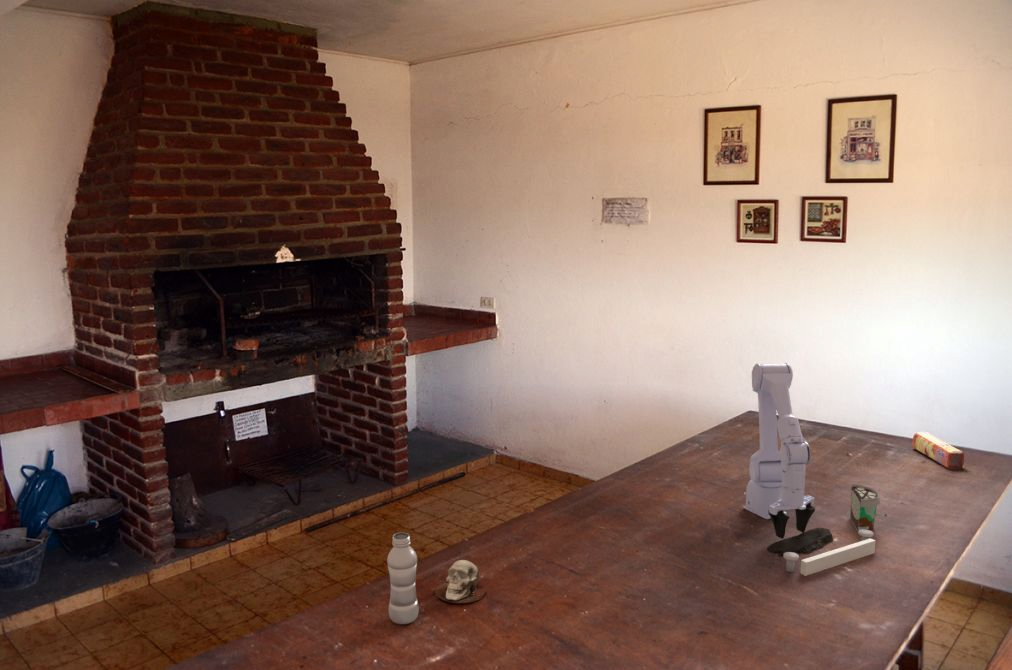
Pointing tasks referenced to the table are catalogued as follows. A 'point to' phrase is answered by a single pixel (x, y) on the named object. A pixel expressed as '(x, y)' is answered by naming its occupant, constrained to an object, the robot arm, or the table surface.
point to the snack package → (938, 450)
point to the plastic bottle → (402, 580)
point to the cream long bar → (833, 555)
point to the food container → (863, 506)
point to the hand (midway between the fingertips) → (790, 533)
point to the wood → (803, 542)
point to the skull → (460, 583)
